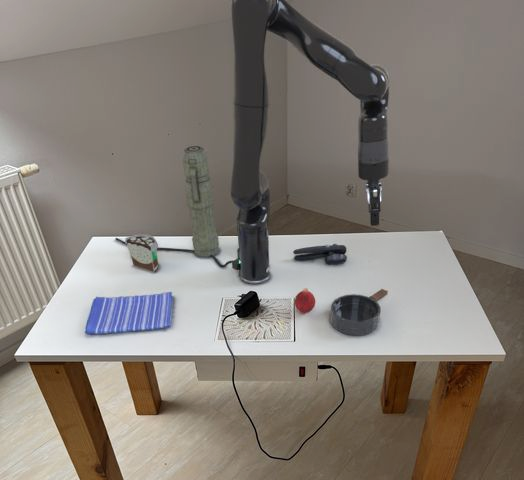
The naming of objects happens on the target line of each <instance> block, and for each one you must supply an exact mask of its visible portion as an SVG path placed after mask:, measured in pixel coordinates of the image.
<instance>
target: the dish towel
mask: <svg viewBox="0 0 524 480" xmlns="http://www.w3.org/2000/svg"><path fill="white" fill-rule="evenodd" d="M172 294H173V292H172V291H167V292H162V293H155V294H142V295H130V296H129V295H128V296H118V297H117V296H113V297H107V296H95V297H94V298H93V300H92V303H91V307H90V311H89V314H88V317H87V320H86V323H85V326H84V327H85V330H84V333H85V334H86V335H100V334H101V335H103V334H105V335H106V334H117V333H127V332H139V331H141V332H142V331H143V332H144V331H150V330H151V331H152V330H153V331H154V330H159V329H167V328H170V327H171V323H172V316H173V307H174V305H173V304H174V297H173V296H174V295H172Z"/></svg>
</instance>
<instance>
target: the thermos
mask: <svg viewBox="0 0 524 480" xmlns="http://www.w3.org/2000/svg"><path fill="white" fill-rule="evenodd" d="M182 165H183V171H184V176H185V186H184V187H185V188H184V192H185V198H186V204H187V207H188V209H189V216H190V223H191V224H190V225H191V230H192V238H191V241H192V247H193V250H194V251H195V253H194V255H195V256H196V257H197V258H201V259H209V258H210V259H211V257H210V255H213V256H215V257H216V256H217V255H218V254H219V253H220V248H219V246H220V242H219V241H220V240H219V234H218V232H217V227H216V219H215V211H214V205H215V197H214V188H213V187H214V186H213V184H212V182H211V178H210V175H209V174H210V169H209V161H208V155H207V152H206V150H205V149H204V147H202V146H199V145H191V146H188V147H186V148H185V149H183V155H182Z"/></svg>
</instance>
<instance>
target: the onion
mask: <svg viewBox="0 0 524 480" xmlns="http://www.w3.org/2000/svg"><path fill="white" fill-rule="evenodd" d="M294 306H295V308H296V310H297V311H298V312H300V313H301V314H302V313H303V314H308V313H309V312H311V311H312V310H313V309H314V308H315V306H316V298H315V295H314V294H313V293H312V292H311V291H309V289H308V288H307V287H305V288H303V290H301V291H300V292H298V293H297V294H296V295H295V299H294Z"/></svg>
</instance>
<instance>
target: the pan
mask: <svg viewBox="0 0 524 480" xmlns="http://www.w3.org/2000/svg"><path fill="white" fill-rule="evenodd" d="M369 297H370V296H367V295H363V294H345V295H342V296H338V297H337V298H335V299H334V300H333V301H332V302H331V305H330V317H329V322H330V324H331V326H332V327H333V328H334V329H335V330H336V331H338V332H339V333H342V334H345V335H348V336H349V335H350V336H364V335H368V334H370V333H371V334H372V332H374V331H376V330H377V329H378V327H379V325H380V320H381V314H382V313H381V312H382V310H381V305H380V304H379V302H378V301H377V302H376V301H375V300H374V299H372V298H369Z"/></svg>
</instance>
